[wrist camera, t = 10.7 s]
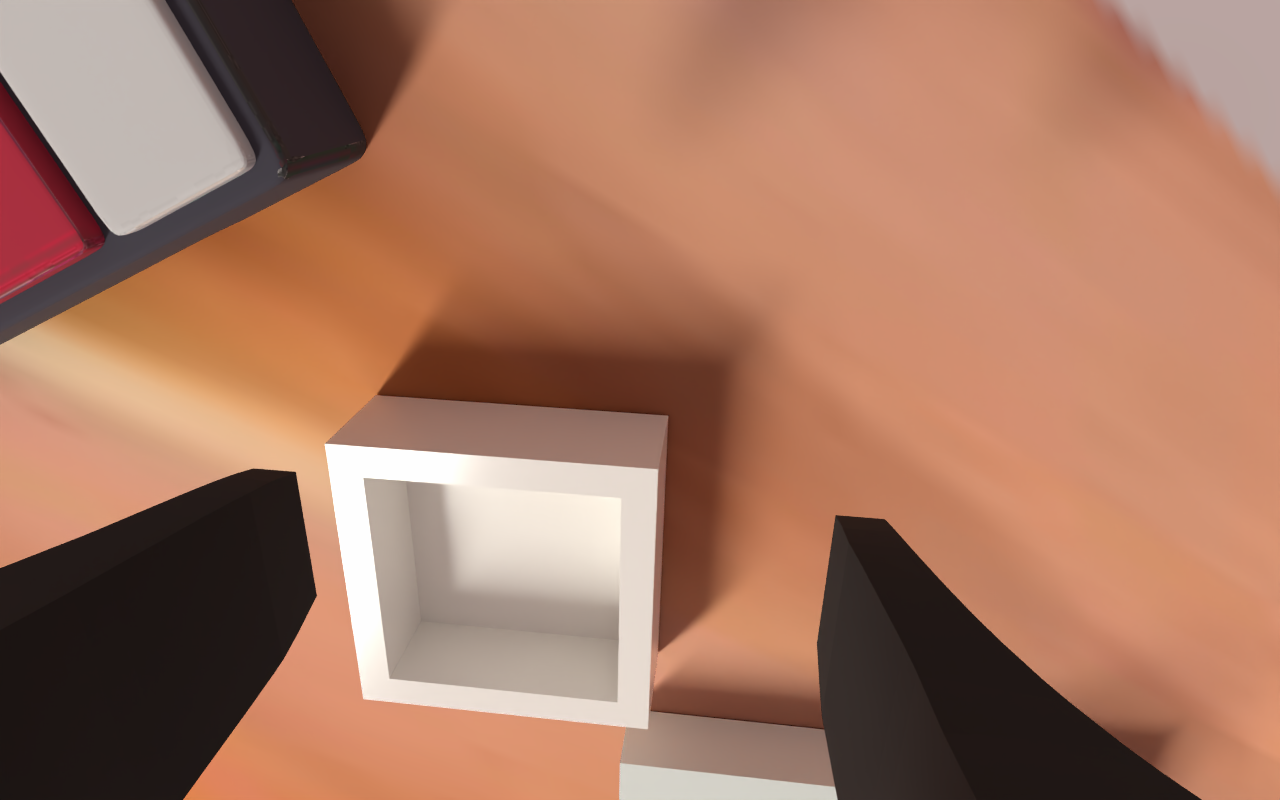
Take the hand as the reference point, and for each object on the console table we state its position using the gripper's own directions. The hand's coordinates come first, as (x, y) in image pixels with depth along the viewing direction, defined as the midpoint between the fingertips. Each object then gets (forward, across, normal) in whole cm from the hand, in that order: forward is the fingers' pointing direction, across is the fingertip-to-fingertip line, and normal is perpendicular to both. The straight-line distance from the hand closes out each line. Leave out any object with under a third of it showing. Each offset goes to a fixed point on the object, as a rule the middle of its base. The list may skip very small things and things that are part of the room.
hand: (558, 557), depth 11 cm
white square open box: (+9, +3, +6) cm, 12 cm away
